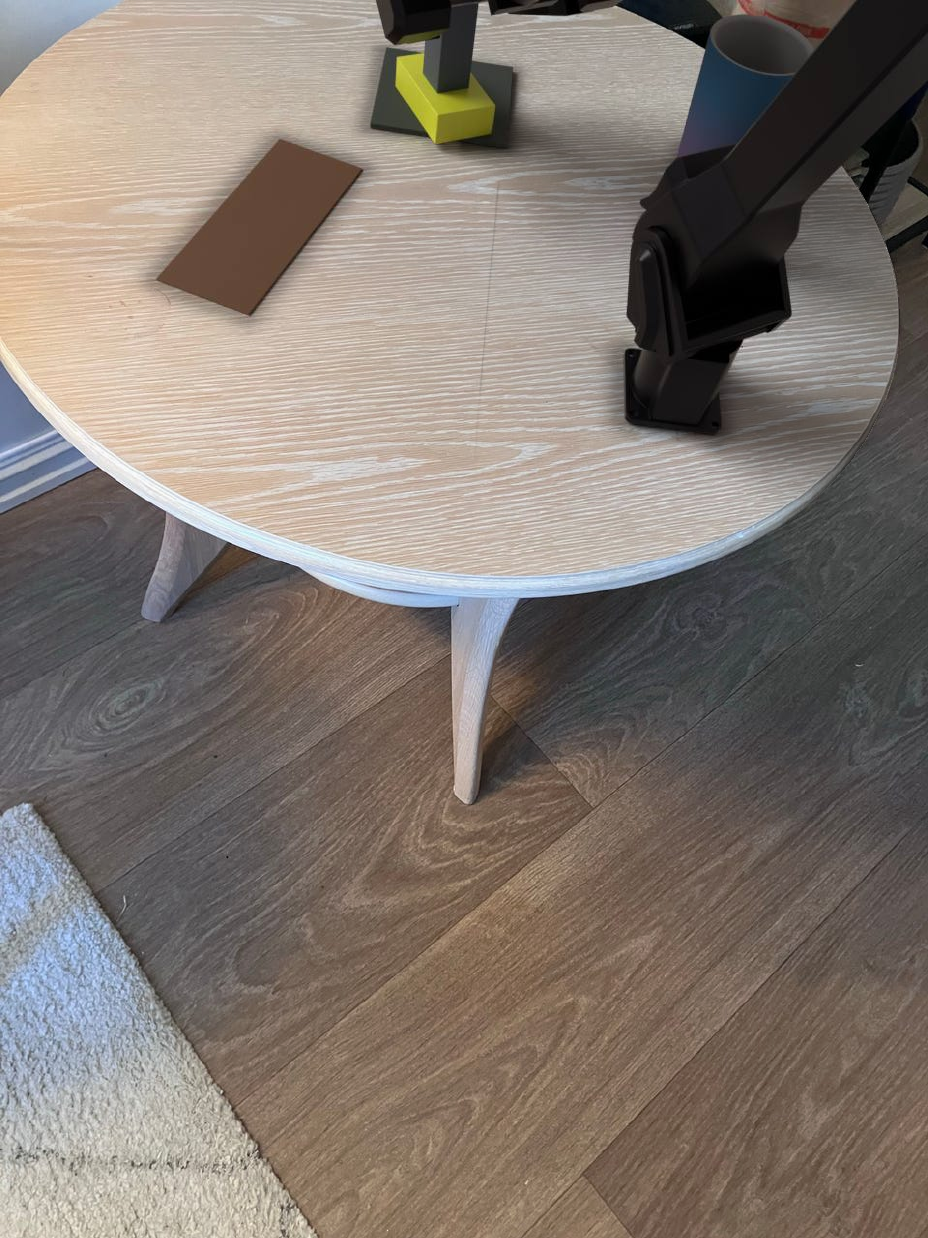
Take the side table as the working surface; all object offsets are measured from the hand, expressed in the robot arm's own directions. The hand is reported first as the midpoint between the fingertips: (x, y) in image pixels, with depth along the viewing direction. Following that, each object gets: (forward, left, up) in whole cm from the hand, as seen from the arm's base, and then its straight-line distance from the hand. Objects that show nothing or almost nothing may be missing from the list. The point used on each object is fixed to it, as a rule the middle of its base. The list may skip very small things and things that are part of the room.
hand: (455, 14), depth 71 cm
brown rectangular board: (-17, +12, -7) cm, 22 cm away
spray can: (-3, -24, -8) cm, 25 cm away
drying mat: (+1, 0, -7) cm, 8 cm away
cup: (-13, -20, -8) cm, 25 cm away
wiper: (-1, 0, -7) cm, 7 cm away
